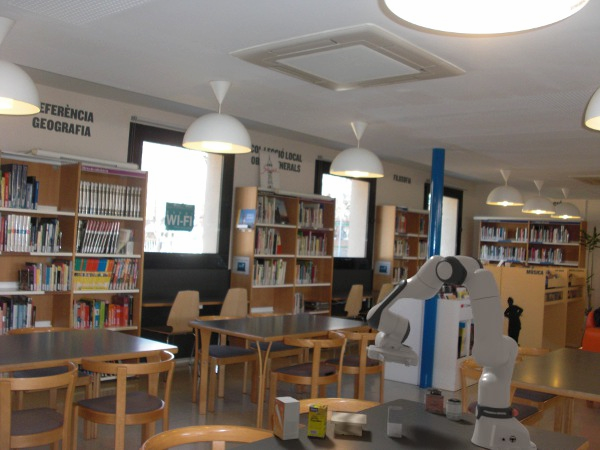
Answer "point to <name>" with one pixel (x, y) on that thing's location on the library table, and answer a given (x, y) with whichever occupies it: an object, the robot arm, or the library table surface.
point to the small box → (286, 418)
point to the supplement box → (317, 421)
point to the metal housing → (394, 421)
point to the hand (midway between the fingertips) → (396, 362)
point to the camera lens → (454, 409)
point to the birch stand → (348, 423)
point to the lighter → (434, 401)
